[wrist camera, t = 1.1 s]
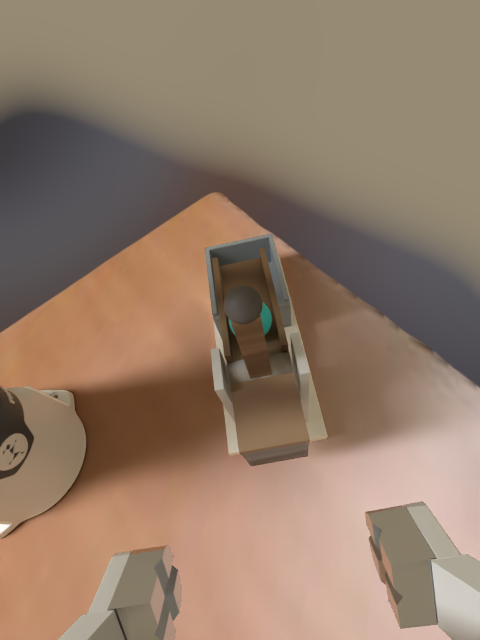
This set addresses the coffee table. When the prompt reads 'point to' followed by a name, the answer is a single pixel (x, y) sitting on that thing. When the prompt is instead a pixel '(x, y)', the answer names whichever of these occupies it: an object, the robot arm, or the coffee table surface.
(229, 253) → the cup
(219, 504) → the coffee table surface
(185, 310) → the coffee table surface
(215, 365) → the catapult stand
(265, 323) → the ball
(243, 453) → the lever
